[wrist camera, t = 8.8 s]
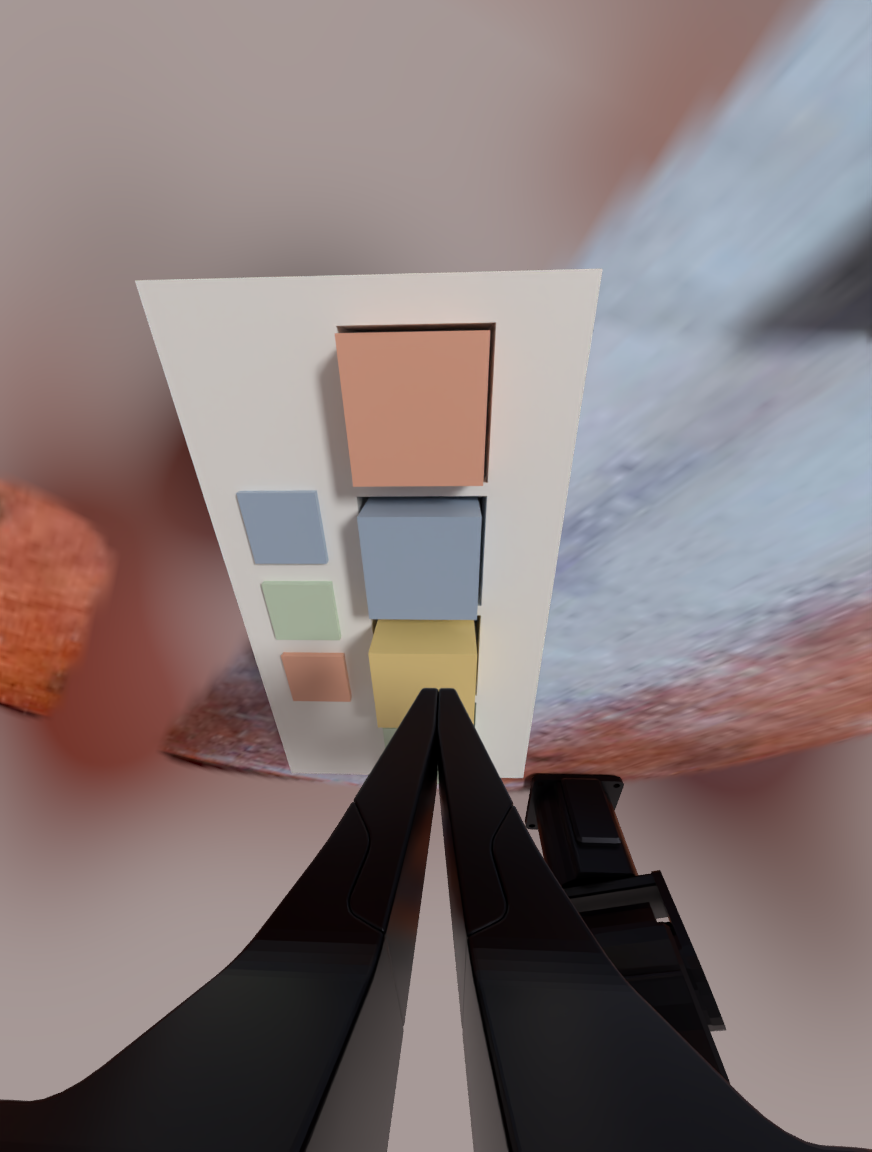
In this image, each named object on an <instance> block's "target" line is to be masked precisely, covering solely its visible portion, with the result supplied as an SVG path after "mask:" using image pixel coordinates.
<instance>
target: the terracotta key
mask: <svg viewBox="0 0 872 1152" xmlns="http://www.w3.org/2000/svg"><path fill="white" fill-rule="evenodd" d="M335 341H336V349H337V358H338V366H339V374H340V382H341V391H342V399H343V407H344V415H345V424H346V432H347V440H348V448H349V456H350V465H351V473H352V481H353V487H385V486H483V479H484V457H485V435H486V414H487V392H488V370H489V348H490V330H475V331H425V332H374V333H335Z"/></svg>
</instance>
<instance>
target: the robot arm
mask: <svg viewBox="0 0 872 1152" xmlns="http://www.w3.org/2000/svg"><path fill="white" fill-rule="evenodd" d="M437 780H438V782H439V795H440V804H441V815H442V825H443V836H444V845H445V856H446V867H447V876H448V877H447V878H448V887H449V898H450V909H451V918H452V929H453V940H454V949H455V960H456V971H457V981H458V991H459V1001H460V1012H461V1022H462V1028H463V1043H464V1053H465V1064H466V1075H467V1085H468V1095H469V1106H470V1115H471V1127H472V1137H473V1147H474V1152H872V1149H866V1148H857V1147H843V1146H825V1145H817V1144H813V1143H810V1142H806V1141H804V1140H802V1139H799V1138H798V1137H796V1136H793V1135H792V1134H789V1133H787V1132H786V1131H784V1130H783V1129H781V1128H780V1127H778V1126H777V1125H775V1124H774V1123H773V1122H771V1121H770V1120H768V1119H767V1118H766V1117H764V1116H763V1115H762V1114H761V1113H760V1112H759V1111H758V1110H757V1109H755V1108H754V1107H753V1106H752V1105H751V1104H750V1103H749V1102H748V1101H746V1100H745V1099H744V1098H743V1097H742V1096H741V1095H740V1094H739V1093H738V1092H737V1091H736V1090H735V1089H734V1088H733V1087H732V1086H731V1085H730V1082H729V1079H728V1076H727V1074H726V1071H725V1069H724V1066H723V1063H722V1061H721V1058H720V1056H719V1053H718V1051H717V1048H716V1046H715V1043H714V1041H713V1038H712V1035H711V1033H710V1031H723V1030H726V1028H725V1025H724V1022H723V1020H722V1017H721V1014H720V1012H719V1009H718V1006H717V1004H716V1001H715V999H714V997H713V994H712V991H711V989H710V987H709V984H708V982H707V980H706V977H705V974H704V972H703V969H702V967H701V965H700V962H699V960H698V958H697V955H696V953H695V951H694V948H693V946H692V943H691V941H690V939H689V937H688V934H687V932H686V930H685V927H684V925H683V922H682V920H681V918H680V915H679V913H678V911H677V908H676V906H675V904H674V902H673V899H672V897H671V894H670V892H669V890H668V887H667V885H666V883H665V880H664V878H663V876H662V873H661V871H660V870H657V871H652V873H651V874H645V875H638V873H637V871H636V868H635V865H634V862H633V860H632V857H631V854H630V852H629V849H628V846H627V844H626V841H625V838H624V835H623V832H622V830H621V827H620V825H619V822H618V819H617V816H616V814H615V808H616V805H617V802H618V800H619V797H620V794H621V792H622V789H623V786H624V784H623V781H622V779H621V778H620V777H617V776H578V775H536V776H534V777H533V778H532V783H531V789H530V794H529V800H528V806H527V811H526V817H525V824H526V827H525V825H524V823H523V821H522V819H521V817H520V815H519V813H518V811H517V809H516V807H515V806H513V802H512V800H511V798H510V796H509V794H508V792H507V790H506V788H505V786H504V784H503V782H502V780H501V778H500V776H499V774H498V772H497V770H496V768H495V766H494V764H493V762H492V760H491V758H490V756H489V754H488V752H487V750H486V748H485V746H484V744H483V742H482V741H481V739H480V737H479V735H478V733H477V731H476V729H475V727H474V725H473V723H472V721H471V719H470V717H469V715H468V713H467V711H466V709H465V707H464V705H463V703H462V701H461V699H460V697H459V695H458V693H457V691H456V690H455V689H454V688H440V689H439V691H438V689H437V688H423V689H421V691H420V692H419V694H418V696H417V697H416V699H415V701H414V702H413V704H412V705H411V707H410V709H409V710H408V712H407V714H406V715H405V717H404V718H403V720H402V722H401V723H400V725H399V727H398V728H397V730H396V731H395V733H394V735H393V736H392V738H391V740H390V741H389V743H388V744H387V746H386V748H385V749H384V751H383V753H382V754H381V756H380V757H379V759H378V761H377V762H376V764H375V766H374V767H373V769H372V771H371V772H370V774H369V775H368V777H367V779H366V780H365V782H364V784H363V785H362V787H361V788H360V790H359V792H358V794H357V795H356V797H355V798H354V802H352V803H351V804H350V806H349V808H348V809H347V811H346V813H345V814H344V816H343V817H342V819H341V821H340V822H339V824H338V825H337V827H336V828H335V830H334V831H333V833H332V834H331V836H330V838H329V839H328V840H327V842H326V843H325V845H324V846H323V847H322V849H321V850H320V851H319V853H318V854H317V856H316V857H315V858H314V860H313V861H312V862H311V864H310V865H309V866H308V868H307V869H306V870H305V872H304V873H303V874H302V876H301V877H300V878H299V879H298V881H297V882H296V883H295V885H294V886H293V887H292V889H291V890H290V891H289V893H288V894H287V895H286V896H285V898H284V899H283V900H282V902H281V903H280V904H279V906H278V907H277V908H276V909H275V911H274V912H273V914H272V915H271V916H270V918H269V919H268V920H267V921H266V923H265V924H264V925H263V926H262V928H261V929H260V930H259V932H258V933H257V934H256V935H255V937H254V938H253V939H252V940H251V941H250V943H249V944H248V945H247V946H246V947H245V948H244V949H243V951H242V952H241V953H240V954H239V955H238V956H237V957H236V958H235V959H234V960H233V961H232V962H231V963H230V964H229V965H228V966H227V967H225V968H224V969H223V970H222V971H221V972H220V973H219V974H217V975H216V976H215V977H214V978H212V979H211V980H210V981H209V982H207V983H206V984H205V985H204V986H202V987H201V988H200V989H199V990H197V991H196V992H195V993H194V994H192V995H191V996H190V997H189V998H187V999H186V1000H185V1001H183V1002H182V1003H181V1004H180V1005H179V1006H177V1007H176V1008H175V1009H174V1010H172V1011H171V1012H170V1013H168V1014H167V1015H166V1016H165V1017H163V1018H162V1019H161V1020H160V1021H158V1022H157V1023H156V1024H155V1025H153V1026H152V1027H151V1028H150V1029H148V1030H147V1031H146V1032H145V1033H143V1034H142V1035H141V1036H140V1037H138V1038H137V1039H136V1040H135V1041H133V1042H132V1043H131V1044H129V1045H128V1046H127V1047H126V1048H124V1049H123V1050H122V1051H121V1052H119V1053H118V1054H117V1055H116V1056H114V1057H113V1058H112V1059H111V1060H110V1061H108V1062H107V1063H106V1064H104V1065H103V1066H102V1067H100V1068H99V1069H98V1070H96V1071H95V1072H93V1073H92V1074H91V1075H89V1076H88V1077H87V1078H85V1079H84V1080H82V1081H81V1082H79V1083H77V1084H75V1085H74V1086H72V1087H70V1088H68V1089H66V1090H65V1091H63V1092H61V1093H58V1094H55V1095H53V1096H50V1097H47V1098H45V1099H40V1100H34V1101H21V1100H0V1152H387V1147H388V1139H389V1132H390V1125H391V1118H392V1110H393V1103H394V1096H395V1089H396V1081H397V1074H398V1067H399V1059H400V1052H401V1045H402V1038H403V1026H404V1023H405V1015H406V1007H407V1000H408V993H409V986H410V978H411V971H412V964H413V956H414V950H415V942H416V935H417V927H418V920H419V913H420V906H421V898H422V891H423V884H424V877H425V869H426V861H427V854H428V847H429V840H430V833H431V826H432V825H431V824H432V818H433V811H434V804H435V796H436V789H437ZM526 828H528V829H538V831H539V836H540V841H541V846H542V852H543V857H544V858H543V857H542V855H541V853H540V852H539V850H538V848H537V847H536V845H535V843H534V841H533V840H532V838H531V836H530V834H529V832H528V830H527V829H526ZM664 917H668V918H669V921H670V922H657V921H656V919H657V918H664Z"/></svg>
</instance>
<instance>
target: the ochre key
mask: <svg viewBox="0 0 872 1152" xmlns="http://www.w3.org/2000/svg"><path fill="white" fill-rule="evenodd" d="M368 656H369V663H370V671H371V679H372V686H373V694H374V702H375V709H376V717H377V725H378V728H398V727H399V725H400V723H401V722H402V720H403V718H404V717H405V715H406V714H407V712H408V710H409V709H410V707H411V705H412V704H413V702H414V701H415V699H416V697H417V696H418V694H419V692H420V691H421V689H423V688H437V689H438V691H439V689H440V688H454V689H455V690H456V691H457V693H458V695H459V697H460V699H461V701H462V703H463V705H464V707H465V709H466V711H467V713H468V715H469V717H470V719H471V721H472V723H473V725H474V710H475V689H476V669H477V647H476V636H475V626H474V620H411V619H378V621H377V624H376V628H375V631H374V635H373V638H372V642H371V645H370V649H369V653H368Z"/></svg>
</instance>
